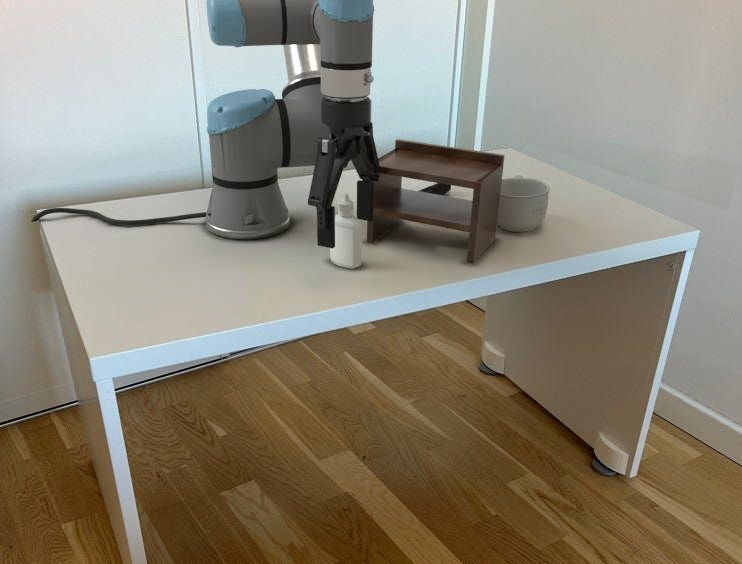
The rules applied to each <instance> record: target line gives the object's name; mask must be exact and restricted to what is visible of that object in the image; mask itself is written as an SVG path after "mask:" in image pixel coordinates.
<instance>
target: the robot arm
mask: <svg viewBox="0 0 742 564" xmlns="http://www.w3.org/2000/svg"><path fill="white" fill-rule="evenodd" d="M374 14H375V5H374V0H206V16H207V17H206V18H207V26H208V32H209V37H210V38H209V39H210V40H211V42H212V43H213V44H214V45H216V46H219V47H221V46H222V47H235V48H241V47H259V46H260V47H261V46H264V47H265V46H283V47H282V48H283V55H284V61H285V68H286V69H285V70H286V75H287V76H286V77H287V83H286V85H285V86H284V87H283V88H282V90H281V98H276V96H275V95H274V93H273V91H272V90H269V89H265V88H260V89H259V88H257V89H255V88H247V89H241V90H236V91H232V92H226V93H224V94H221V95H219V96H217V97H215V98H214V99H212V100H211V101H210V102H209V104H208V106H207V109H206V115H207V116H206V118H207V119H206V121H207V126H206V133H207V134H208V142H209V154H210V155H209V156H210V166H211V167H210V168H211V179H212V188H211V191H210V196H209V200H208V205H207V210H206V211H204V212H203V211H202V212H196V213H186V214H179V215H173V216H165V217H155V218H146V219H132V220H131V219H129V220H128V219H116V218H110V217H107V216H105V215H103V214H102V213H100V212H97V211H95V210H91V209H79V208H69V207H51V208H46V209H44V210H42V211H40V212H38V213H36V214H35V215H34V216H33V217H32V218H31V220H30V222H31V223H34V222H38V221H39V220H40V219H41V218H43V217H45V216H47V215H51V214H60V213H61V214H64V213H65V214H74V215H86V216H92V217H95V218H97V219H99V220H101V221H102V222H105V223H107V224H111V225H115V226H116V225H117V226H142V225H151V224H160V223H161V224H162V223H170V222H178V221H185V220H192V219H193V220H194V219H202V218H205V224H206V229H207V230H208V231H209V232H210V233H212V234H213V235H216V236H218V237H221V238H227V239H232V240H258V239H264V238H270V237H273V236H276V235H279V234H280V233H283V232H285V231H286V230H287V229H288V228H289V227H290V224H291V222H290V212H289V209H288V208H287V204H286V200H285V198H284V195H283V193H282V191H281V188H280V185H279V177H278V175H279V174H278V169H283V168H299V167H300V168H301V167H314V168H313V174H312V179H311V183H310V188H309V194H308V198H307V205H308V206H311V207H315V208H316V235H317V246H319V247H324V248H327V249H328V248H329V249H330V248H334V247H335V215H336V207H335V206H334V205H333V202H334V200H335V195H336V193H337V190H338V187H339V184H340V180H341V178H342V174H343V172H344V169H345V168H347V167H348V166H349V162H351V163H352V165H353V168H354V169H355V171H356V173H357V175H358V178H359V179H360V180H357V181H356V218H357V219H358V220H359V221H366V222H367V221H370V222H371V221H373V186H374V183H373V181H375V182H379V180H380V175H379V174H380V165H379V160H378V158H379V157H378V151H377V147H376V143H375V142H376V141H375V139H374V124H373V122H372V100H371V98H370V97H369V96H370V95H371V94H372V83H373V82H374V79H375V78H374V76H373V74H372V73H373V67H372V66H373V39H374V37H373V33H374V30H373V29H374ZM371 165H373V166H371ZM376 174H378V175H376Z"/></svg>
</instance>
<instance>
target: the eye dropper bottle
mask: <svg viewBox="0 0 742 564" xmlns="http://www.w3.org/2000/svg"><path fill="white" fill-rule="evenodd" d="M354 203H355V202H354V201H353V200H351V199H350V196H349V193H348V192H344V193H343V195H342V199H341V200H339V201H338V206H337V208H338V211H337V212H338V213H336V214H335V247H334V248H329V260H330V261H331V263H332V264H334V265H336V266H338V267H340V268H343V269H350V270H354V269H356V268H358V267H361V265H362V264H363V262H362V261H363V259H362V257H363V225H362V222H361V220H359V219H357V216H355V215H354V207H355V205H354Z"/></svg>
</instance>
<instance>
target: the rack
mask: <svg viewBox="0 0 742 564" xmlns="http://www.w3.org/2000/svg"><path fill="white" fill-rule="evenodd" d="M505 157H506V156H505V154H501V153H495V152H489V151H481V150H475V149H467V148H461V147H454V146H447V145H441V144H434V143H426V142H420V141H414V140H407V139H402V138H401V139H400V138H397V139H395V141H394V148H393V149H391V150H390V151H388V152H387V153H385V154H383V155H382V156H380V157H378V160H379V165H380V174H379V175H380V180H379V182H375V181H373V183H374V186H373V221H371V222H370V221H366V243H369V244H374V243H375V242H377V241H378V240H379V239H380V238H381V237H382V236H384V235H386V234H387V233H388V232H390V231H391V230H392V229H393V228H394V227H395V226H397V225H399V223H401V220H402V221H405V222H406V221H407V222H411V223H412V222H413V223H418V224H423V225H428V226H433V227H438V228H442V229H443V228H444V229H449V230H454V231H458V232H465V233H468V244H467V254H466V255H467V256H466V263H467V264H472V265H474V263H476V261H477V260H478V259H479V258H480V257H481V256H482V255H483V254H484V253H485V252H486V251H487V250H488V248H489V247H490V246H491V245H492V244H493V243H494V242H495V241H496V236H497V235H496V234H497V228H498V227H497V225H498V224H497V218H498V209H499V200H500V191H501V183H502V179H503V172H504V165H505V164H504V163H505ZM371 166H373V165H371ZM376 175H378V174H376ZM403 178H407V179H411V180H417V181H423V182H430V183H434V184H436V183H441V184H447V185H451V186H455V187H458V188H459V187H460V188H465V189H466V188H467V189H471V190H473V191H472V200H470V199H466V198H459V197H455V196H448V195H437V194H431V193H425V192H420V191H419V190H412V189H409V188H408V189H407V188H402V184H403V183H402V182H403Z"/></svg>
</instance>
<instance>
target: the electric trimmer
mask: <svg viewBox="0 0 742 564" xmlns="http://www.w3.org/2000/svg"><path fill="white" fill-rule="evenodd" d="M451 190H452V185H447V184H441V183H434V184H432V185H428V186H427V187H424V188H422V189H420V190H418V191H420V192H425V193H431V194H437V195H443V196H446V194H447V193H449V192H451Z"/></svg>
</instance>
